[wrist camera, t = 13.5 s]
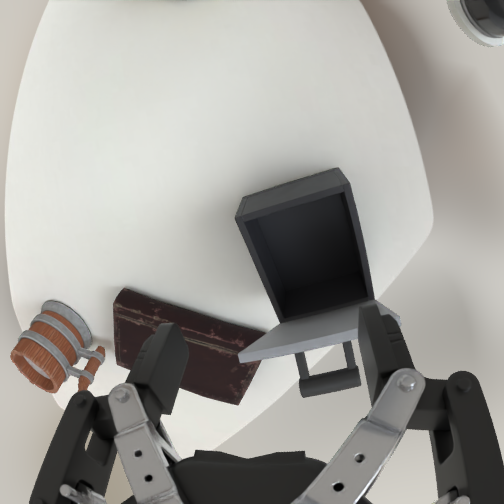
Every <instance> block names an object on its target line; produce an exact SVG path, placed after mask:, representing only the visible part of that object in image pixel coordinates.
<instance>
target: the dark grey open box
mask: <svg viewBox="0 0 504 504" xmlns="http://www.w3.org/2000/svg"><path fill="white" fill-rule="evenodd" d="M235 220H236V223H237V225H238V227H239V230H240V232H241V234H242V236H243V239H244V241H245V243H246V246H247V248H248V250H249V253H250V255H251V257H252V259H253V262H254V264H255V266H256V269H257V271H258V273H259V276H260V278H261V280H262V283H263V285H264V287H265V289H266V292H267V294H268V296H269V299H270V301H271V303H272V306H273V308H274V310H275V312H276V315H277V317H278V319H279V322H280V323H284V322H289V321H293V320H297V319H302V318H306V317H310V316H314V315H318V314H322V313H326V312H330V311H334V310H338V309H341V308H345V307H349V306H352V305H356V304H360V303H363V302H367V301H370V300H374V299H375V298H374V292H373V286H372V280H371V275H370V269H369V264H368V259H367V254H366V249H365V244H364V239H363V235H362V230H361V226H360V222H359V217H358V213H357V209H356V205H355V201H354V197H353V193H352V189H351V185H350V183H349V181H348V180H347V178H346V177H345V176H344V174H343V173H342V171H341V170H340V169H339V168H335V169H332V170H328V171H325V172H321V173H318V174H315V175H311V176H308V177H305V178H301V179H298V180H295V181H292V182H289V183H285V184H282V185H279V186H276V187H273V188H270V189H267V190H263V191H260V192H257V193H254V194H251V195H248V196H245V197H243V198H242V201H241V203H240V206H239V208H238V211H237V213H236V216H235Z"/></svg>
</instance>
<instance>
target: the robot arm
mask: <svg viewBox="0 0 504 504" xmlns="http://www.w3.org/2000/svg"><path fill="white" fill-rule="evenodd" d="M460 3H461V6H462V9H463V11H464V13H465V15H466V17H467V18H468V20H469V21H470V22H471V24H472V25H473V26H474V27H475V28H476V29H477V30H478V31H479V32H481V33H482V34H483V35H485V36H487V37H490V38H502V37H504V0H460ZM358 342H359V347H360V352H361V356H362V361H363V365H364V370H365V375H366V380H367V385H368V389H369V395H370V400H371V405H372V408H371V410H370V411H369V413H368V415H367V416H366V417H365V418H362V419H361V420H360V421H359V422H358V424H357V425H356V427H355V428H354V430H353V431H352V432H351V434H350V435H349V436H348V438H347V439H346V441H345V442H344V443H343V445H342V446H341V448H340V449H339V450H338V451H337V453H336V454H335V455H334V457H333V458H332V459H331V460H330V462H329V463H328V464H326V463H325V462H322V461H319V460H317V459H313V458H308V457H306V456H305V451H295V452H276V453H272V454H268V455H263V456H259V457H254V458H249V459H246V458H242V457H238V456H234V455H231V454H227V453H223V452H218V451H204V450H195V454H194V456H193V457H189V458H185V459H182V458H181V457H180V456H179V454H178V453H177V451H176V450H175V448H174V446H173V444H172V442H171V440H170V438H169V436H168V434H167V432H166V430H165V428H164V426H163V424H162V422H161V420H160V417H161V414H166V415H171V413H172V409H173V406H174V403H175V400H176V396H177V393H178V390H179V387H180V384H181V380H182V377H183V374H184V371H185V368H186V365H187V362H188V358H189V349H188V346H187V343H186V341H185V339H184V337H183V335H182V333H181V330H180V328H179V326H178V324H176V323H163V324H160V325H159V326H158V328H157V330H156V332H155V335H151V336H150V337H149V338H148V339H147V340H146V341H145V342H144V343H143V345H142V348H141V350H140V352H139V354H138V356H137V359H136V360H135V362H134V364H133V367H132V369H131V371H130V373H129V375H128V377H127V380H126V382H125V383H122V384H119V385H117V386H116V387H114V388H113V389H112V390H111V392H110V393H109V395H105V396H99V397H94V396H93V395H92V393H91V392H90V391H87V390H82V391H79V392H77V393H75V394H74V395H73V396H72V397H71V399H70V401H69V403H68V405H67V407H66V409H65V412H64V414H63V416H62V418H61V421H60V423H59V425H58V427H57V430H56V432H55V435H54V437H53V439H52V441H51V444H50V446H49V449H48V451H47V454H46V456H45V459H44V461H43V464H42V466H41V469H40V472H39V474H38V478H37V480H36V483H35V486H34V489H33V491H32V494H31V497H30V501H29V504H107V503H106V500H105V499H104V496H105V493H106V489H107V485H108V482H109V478H110V474H111V471H112V467H113V464H114V461H115V457H116V454H117V451H118V453H119V456H120V459H121V462H122V465H123V467H124V471H125V473H126V476H127V478H128V481H129V484H130V486H131V489H132V491H133V494H134V495H133V496H131V497H130V498H128V499H127V500H126V501H124V502H123V503H121V504H372V503H371V502H370V501H369V500H368V499H367V498H366V497H365V496H366V494H367V493H368V492H369V490H370V489H371V487H372V486H373V484H374V483H375V482H376V480H377V479H378V477H379V476H380V474H381V472H382V471H383V469H384V467H385V465H386V464H387V462H388V461H389V459H390V458H391V456H392V454H393V453H394V451H395V449H396V447H397V446H398V444H399V442H400V440H401V439H402V437H403V435H404V433H405V431H406V430H407V429H415V430H429V435H430V440H431V446H432V452H433V458H434V465H435V473H436V481H437V490H438V500H436V501H435V502H433V503H432V504H504V465H503V460H502V456H501V452H500V448H499V444H498V440H497V436H496V433H495V429H494V426H493V422H492V419H491V416H490V413H489V409H488V407H487V403H486V400H485V397H484V395H483V392H482V389H481V386H480V384H479V381H478V379H477V378H476V376H474V375H473V374H472V373H470V372H467V371H458V372H455V373H453V374H452V375H451V376H450V377H449V378H448V380H437V379H429V378H426V377H424V376H423V375H422V374H421V373H420V372H419V371H417V370H416V369H415V367H414V365H413V362H412V359H411V356H410V354H409V351H408V348H407V346H406V343H405V340H404V337H403V335H402V333H401V330H400V327H399V325H398V322H397V321H396V320H395V319H394V318H393V317H392V316H391V315H390V314H386V315H381V314H380V311H379V309H378V306H377V304H371V305H364V306H359V317H358ZM90 430H91V431H92V432H93V434H92V436H91V439H90V442H89V445H88V448H87V450H86V451H85V443H86V440H87V437H88V435H89V432H90Z"/></svg>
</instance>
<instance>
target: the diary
mask: <svg viewBox="0 0 504 504" xmlns="http://www.w3.org/2000/svg"><path fill="white" fill-rule="evenodd" d="M113 316H114V345H115V356H116V363H117V365H119V366H121V367H124V368H126V369H129V370H131V369H132V367H133V364H134V362H135V360H136V359H137V356H138V354H139V352H140V350H141V348H142V345H143V343H144V342H145V341H146V340H147V339H148V338H149V337H150V336H151V335H155V332H156V330H157V328H158V326H159V325H160V324H163V323H176V324H178V326H179V328H180V330H181V333H182V335H183V337H184V339H185V341H186V343H187V346H188V349H189V358H188V362H187V365H186V368H185V371H184V374H183V377H182V380H181V384H180V387H179V388H182V389H184V390H187V391H189V392H192V393H195V394H198V395H200V396H203V397H207V398H210V399H214V400H218V401H222V402H226V403H230V404H234V405H239V403H240V401H241V400H242V398H243V396H244V394H245V392H246V390H247V389H248V387H249V385H250V383H251V381H252V379H253V377H254V375H255V373H256V371H257V369H258V367H259V365H260V363H261V361H262V360H257V361H251V362H245V363H240V361H239V357H238V353H240V352H241V351H243V350H244V349H246V348H247V347H248V346H250V345H251V344H253V343H254V342H255V341H257V340H258V339H260V338H261V337H262V336H264V335H265V334H266V333H265V332H261V331H257V330H253V329H249V328H245V327H241V326H237V325H233V324H229V323H226V322H223V321H220V320H217V319H214V318H211V317H208V316H205V315H202V314H199V313H196V312H193V311H189V310H186V309H183V308H179V307H176V306H172V305H169V304H166V303H162V302H159V301H156V300H154V299H151V298H148V297H146V296H143V295H141V294H138V293H136V292H133V291H131V290H128V289H125V288H123V289H122V290H121V291H120V293H119V294H118V296H117V297H116V299H115V301H114V303H113Z"/></svg>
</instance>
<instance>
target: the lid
mask: <svg viewBox="0 0 504 504" xmlns="http://www.w3.org/2000/svg"><path fill="white" fill-rule="evenodd" d="M371 304H377V306H378V309H379V311H380V314H381V315H386V314H390V315H391V316H392V317H393V318H394V319H395V320H396V321H397V322H398V325H399V327H400V326H401V321H400V316H398V315H397V314H396V313H394V312H393V311H391V310H390V309H388V308H387V307H385V306H384V305H383V304H381V303H380V302H378V301H377V300H375V299H374V300H370V301H367V302H363V303H360V304H356V305H352V306H349V307H345V308H341V309H338V310H334V311H330V312H326V313H322V314H318V315H314V316H310V317H306V318H302V319H297V320H293V321H289V322H284V323H280V324H279V325H277V326H276V327H275V328H273V329H272V330H270V331H269V332H268V333H266V334H265V335H264V336H262V337H261V338H260V339H258V340H257V341H255V342H254V343H253V344H251V345H250V346H248V347H247V348H246V349H244V350H243V351H241V352H240V353H238V357H239V361H240V363H245V362H251V361H257V360H263V359H268V358H274V357H279V356H284V355H289V354H294V353H295V358H296V362H297V366H298V370H299V375H300V379H299V388H300V392H301V395H302V397H303V398H305V397H310V396H316V395H321V394H326V393H331V392H336V391H341V390H345V389H349V388H354V387H358V386H361V380H360V375H359V369H358V366H357V365H356V364H355V358H354V353H353V349H352V343H351V340H354V339H358V317H359V306H364V305H371ZM339 343H343V348H344V352H345V357H346V362H347V367H348V368H344V369H340V370H336V371H331V372H327V373H322V374H318V375H312V376H309V371H308V367H307V363H306V358H305V354H304V351H308V350H313V349H317V348H322V347H326V346H330V345H335V344H339Z"/></svg>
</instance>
